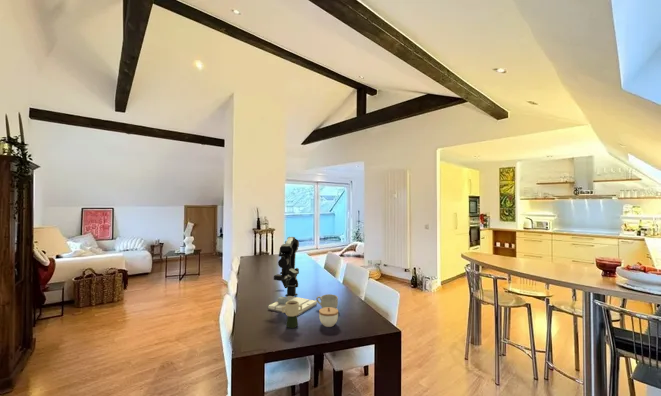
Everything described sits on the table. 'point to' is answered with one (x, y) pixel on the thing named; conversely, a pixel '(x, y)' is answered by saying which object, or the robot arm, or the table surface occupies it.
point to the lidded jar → (328, 316)
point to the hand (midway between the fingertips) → (285, 288)
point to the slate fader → (282, 300)
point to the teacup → (328, 301)
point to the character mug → (292, 313)
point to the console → (304, 302)
